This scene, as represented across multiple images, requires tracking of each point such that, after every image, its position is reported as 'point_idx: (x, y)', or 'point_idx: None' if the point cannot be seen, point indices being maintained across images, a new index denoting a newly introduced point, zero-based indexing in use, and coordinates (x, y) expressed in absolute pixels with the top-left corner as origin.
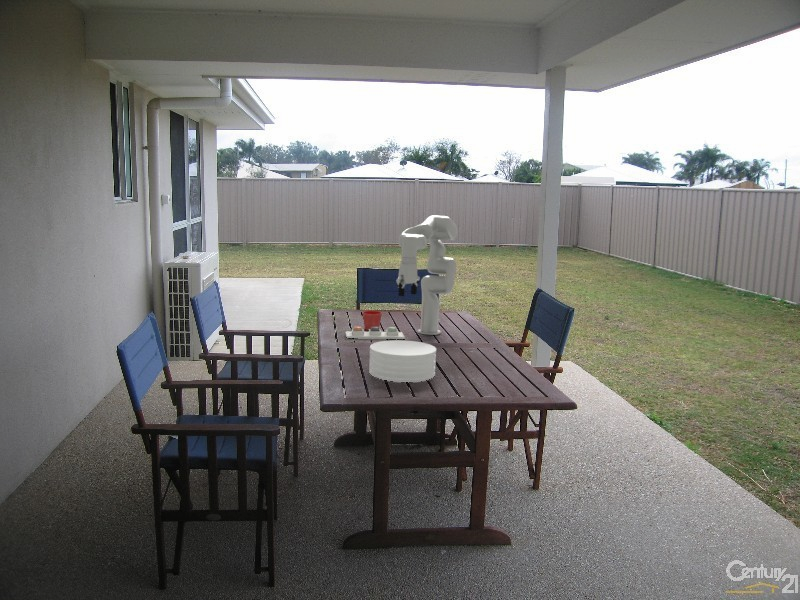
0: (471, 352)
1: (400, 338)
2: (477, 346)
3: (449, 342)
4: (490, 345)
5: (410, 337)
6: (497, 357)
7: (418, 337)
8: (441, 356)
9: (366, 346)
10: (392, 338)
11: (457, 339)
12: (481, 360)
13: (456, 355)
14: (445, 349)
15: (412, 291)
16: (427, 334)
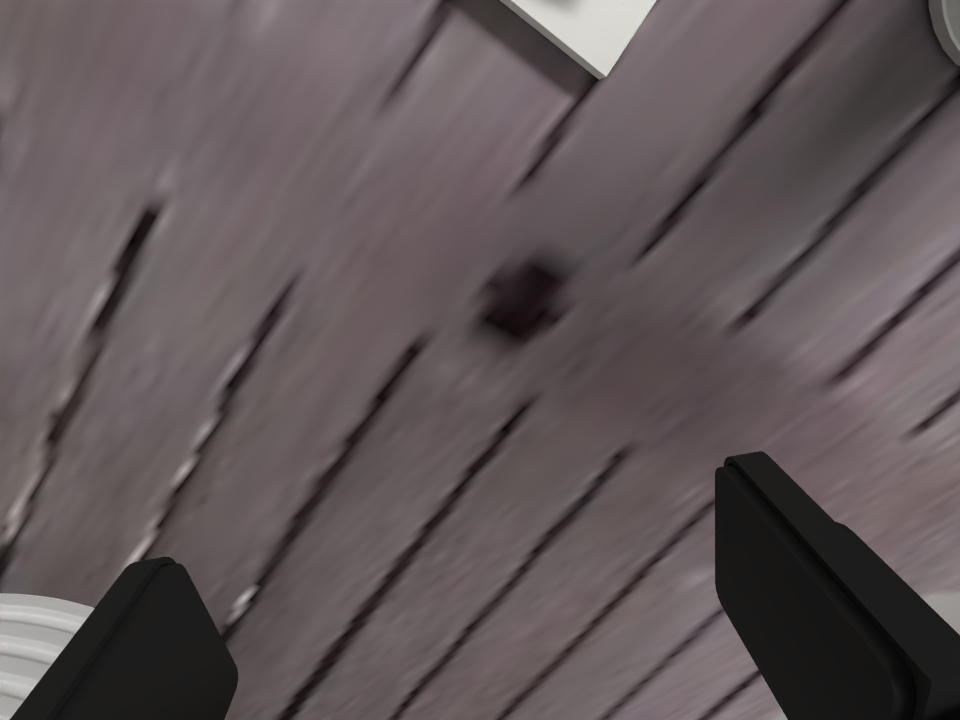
0: (673, 592)
1: (569, 53)
2: (838, 515)
3: (807, 354)
4: (921, 531)
5: (720, 24)
6: (688, 700)
7: (778, 70)
8: (454, 585)
9: (116, 118)
10: (505, 1)
11: (945, 310)
12: (572, 705)
13: (546, 602)
14: (608, 484)
15: (757, 563)
16: (935, 32)
